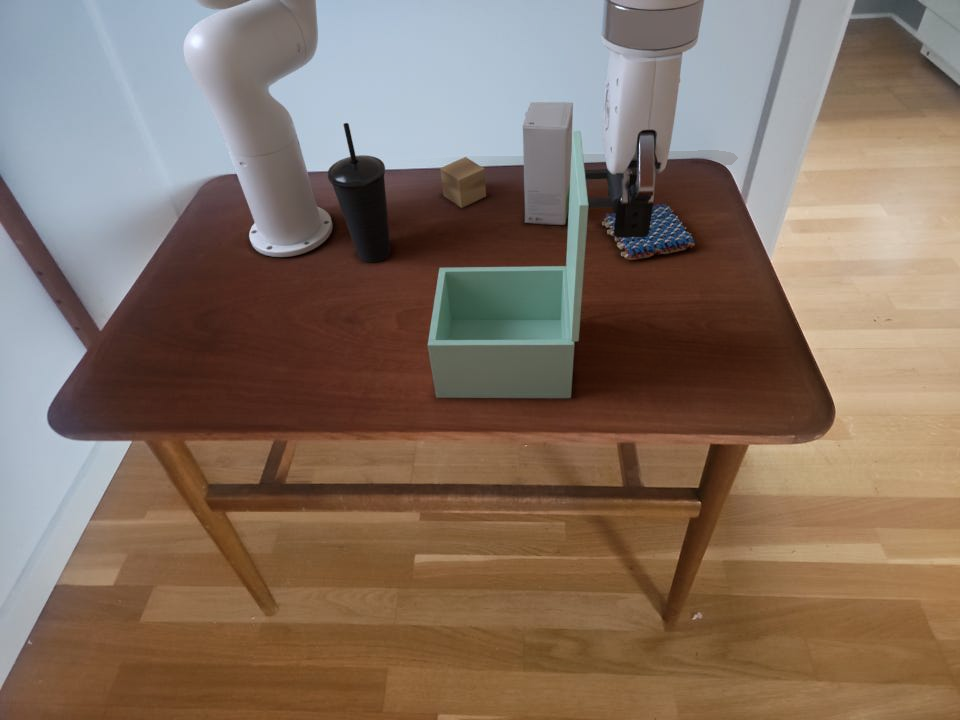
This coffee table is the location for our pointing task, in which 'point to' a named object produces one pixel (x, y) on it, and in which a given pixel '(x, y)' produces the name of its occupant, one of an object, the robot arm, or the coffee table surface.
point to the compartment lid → (582, 224)
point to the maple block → (463, 182)
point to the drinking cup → (363, 201)
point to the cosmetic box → (547, 161)
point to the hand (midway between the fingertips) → (627, 213)
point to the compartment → (501, 333)
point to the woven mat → (654, 235)
